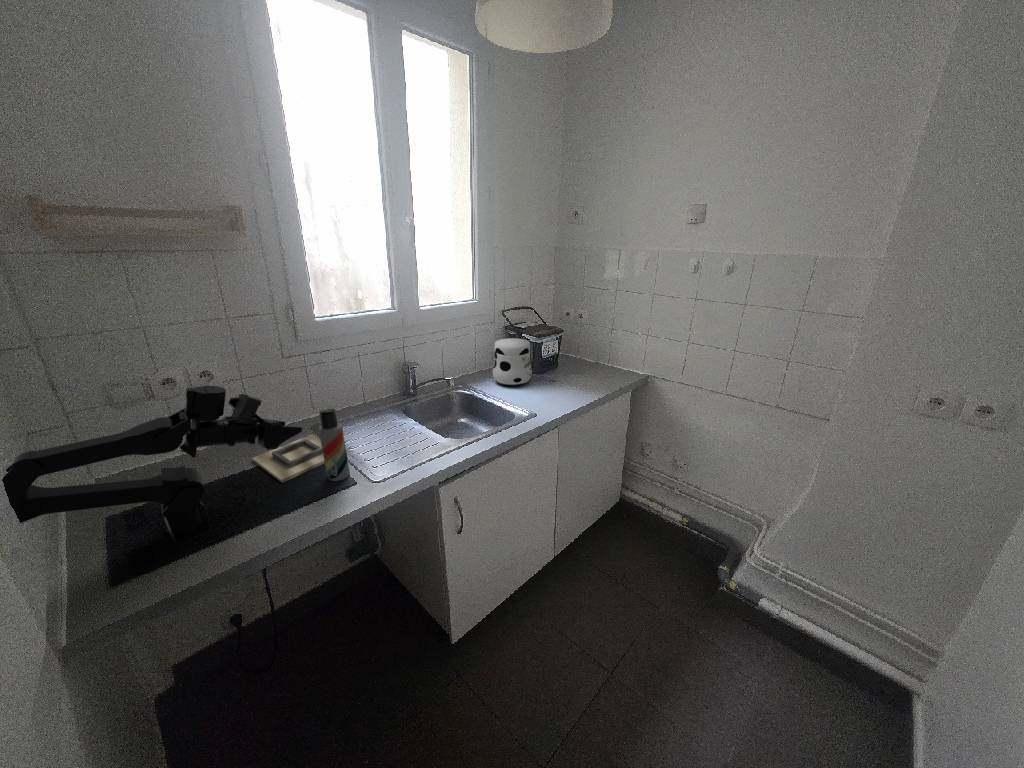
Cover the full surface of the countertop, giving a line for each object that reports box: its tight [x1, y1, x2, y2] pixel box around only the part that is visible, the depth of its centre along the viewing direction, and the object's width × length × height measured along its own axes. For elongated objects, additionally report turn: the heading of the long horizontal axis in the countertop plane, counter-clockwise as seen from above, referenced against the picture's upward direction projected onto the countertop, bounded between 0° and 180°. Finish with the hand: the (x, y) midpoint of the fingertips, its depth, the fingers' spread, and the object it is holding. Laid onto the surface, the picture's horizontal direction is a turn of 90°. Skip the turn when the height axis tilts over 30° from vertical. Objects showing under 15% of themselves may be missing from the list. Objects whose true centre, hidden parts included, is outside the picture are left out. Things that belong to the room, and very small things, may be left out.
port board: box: [251, 434, 325, 484], centre depth 118 cm, size 18×18×2 cm
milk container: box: [492, 337, 533, 387], centre depth 174 cm, size 17×17×18 cm
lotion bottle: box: [318, 408, 351, 482], centre depth 106 cm, size 6×6×20 cm
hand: (293, 426), depth 102 cm, fingers open, 9 cm apart
